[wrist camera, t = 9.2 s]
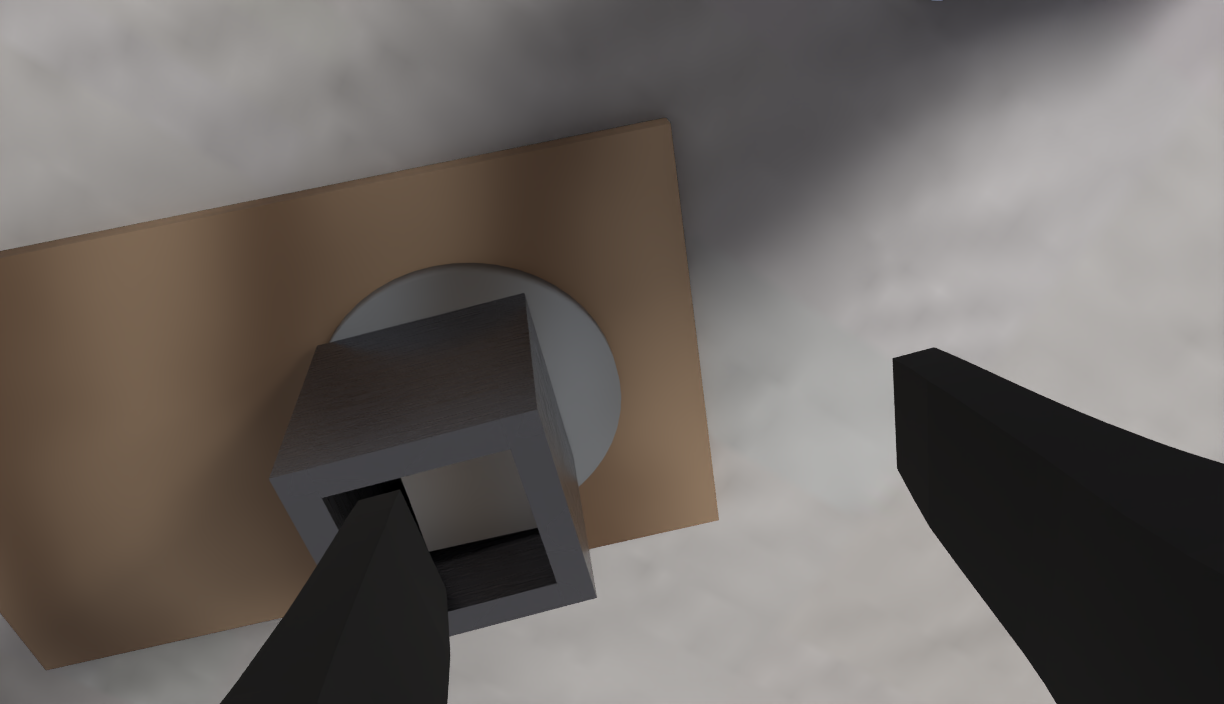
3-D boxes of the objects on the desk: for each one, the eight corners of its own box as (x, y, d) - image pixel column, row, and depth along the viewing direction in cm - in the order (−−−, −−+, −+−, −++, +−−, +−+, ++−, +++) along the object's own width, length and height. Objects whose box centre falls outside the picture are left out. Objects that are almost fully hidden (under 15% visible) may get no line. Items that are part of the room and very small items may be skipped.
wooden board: (660, 110, 19) (714, 175, 15) (709, 494, 25) (757, 620, 21) (-203, 283, 18) (-416, 407, 14) (64, 637, 24) (-26, 801, 20)
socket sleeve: (524, 292, 19) (537, 409, 15) (573, 456, 22) (596, 597, 17) (317, 346, 19) (268, 479, 15) (390, 504, 21) (368, 657, 17)
